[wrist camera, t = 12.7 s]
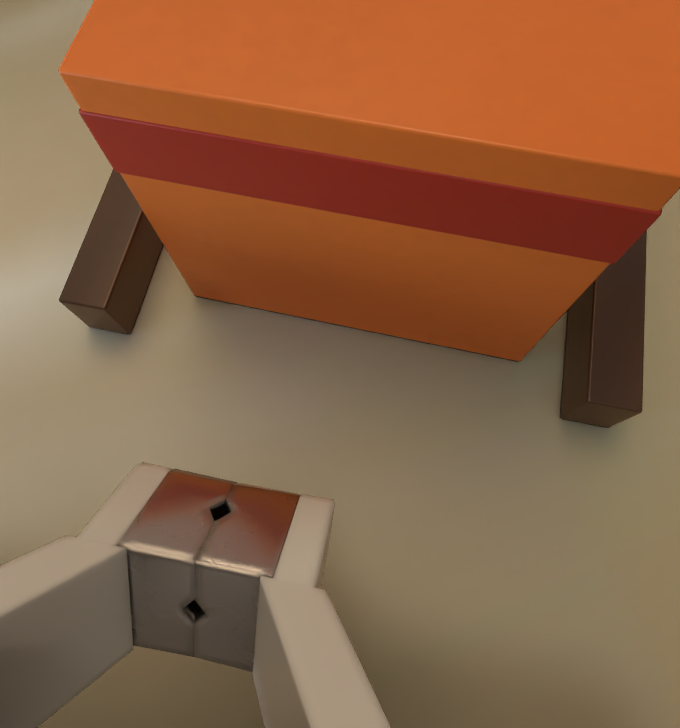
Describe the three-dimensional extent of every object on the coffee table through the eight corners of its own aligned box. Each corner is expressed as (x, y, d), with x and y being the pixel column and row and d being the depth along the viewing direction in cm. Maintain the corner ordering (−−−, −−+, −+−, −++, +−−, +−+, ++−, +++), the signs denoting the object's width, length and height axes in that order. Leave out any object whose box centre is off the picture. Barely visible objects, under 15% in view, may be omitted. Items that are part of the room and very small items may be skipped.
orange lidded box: (192, 297, 18) (52, 72, 9) (289, 18, 22) (252, -312, 14) (521, 364, 17) (694, 181, 9) (558, 60, 21) (700, -267, 13)
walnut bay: (88, 326, 18) (57, 300, 16) (226, -28, 23) (215, -79, 21) (608, 428, 16) (642, 412, 14) (627, 26, 22) (653, -23, 20)
